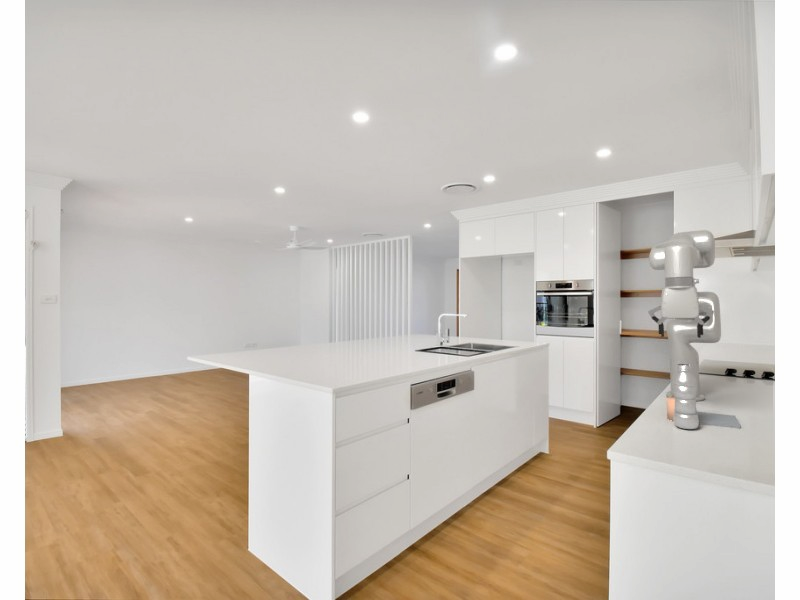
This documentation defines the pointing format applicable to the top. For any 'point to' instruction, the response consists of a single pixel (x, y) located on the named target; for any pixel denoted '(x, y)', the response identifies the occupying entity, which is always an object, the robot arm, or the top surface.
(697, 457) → the top surface
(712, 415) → the slate mat
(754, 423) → the top surface
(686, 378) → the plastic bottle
